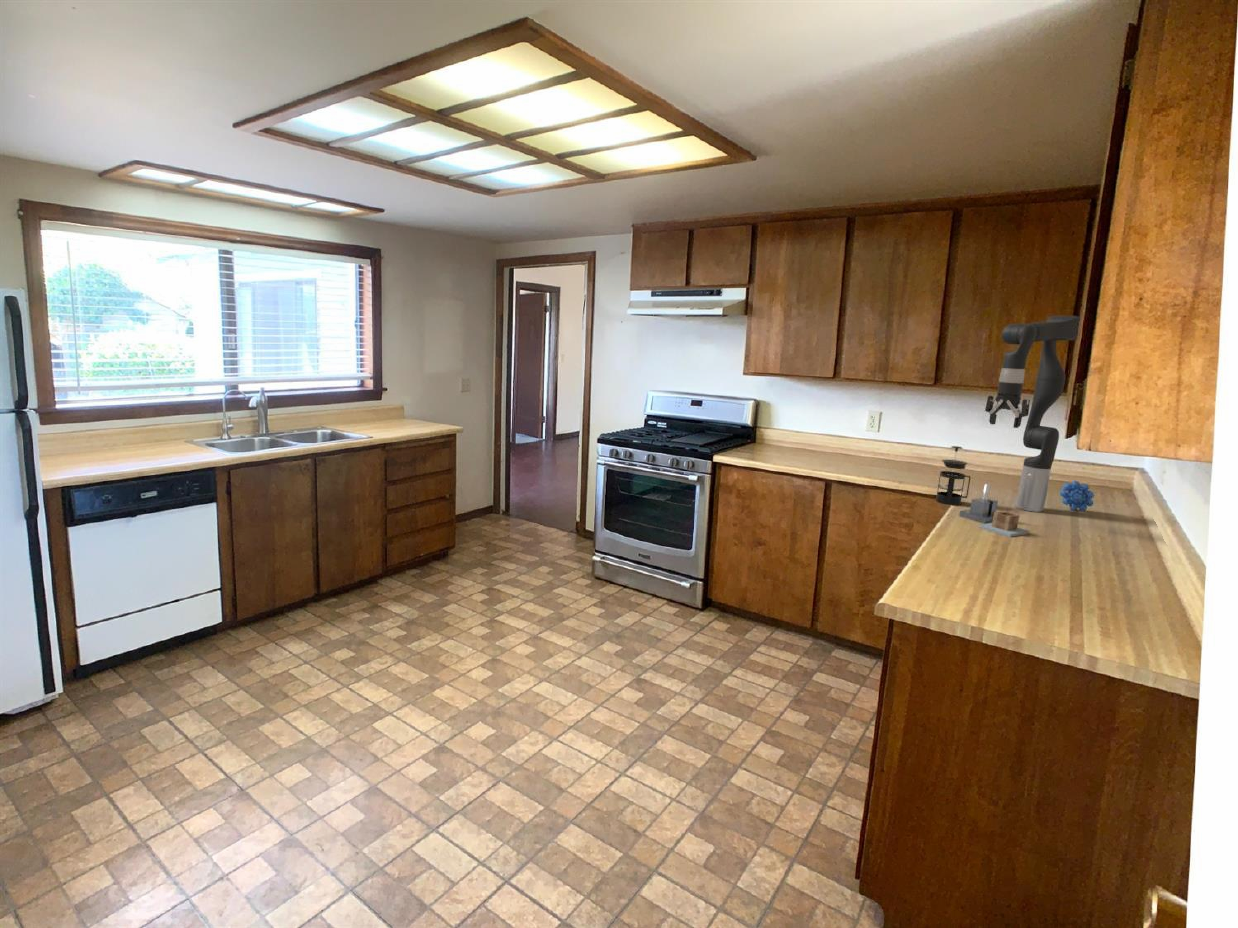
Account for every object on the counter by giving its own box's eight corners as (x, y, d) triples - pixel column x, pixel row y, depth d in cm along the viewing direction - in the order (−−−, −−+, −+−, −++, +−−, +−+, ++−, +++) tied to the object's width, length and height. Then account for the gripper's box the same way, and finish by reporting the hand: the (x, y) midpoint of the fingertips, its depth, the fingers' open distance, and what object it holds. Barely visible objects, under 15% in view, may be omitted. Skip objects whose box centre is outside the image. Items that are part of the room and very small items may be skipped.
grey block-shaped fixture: (978, 513, 244) (984, 480, 241) (1004, 520, 235) (1010, 486, 232) (959, 516, 238) (964, 482, 235) (984, 523, 229) (990, 488, 227)
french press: (933, 502, 257) (942, 446, 252) (933, 497, 265) (941, 443, 260) (966, 507, 252) (975, 450, 247) (965, 502, 260) (974, 446, 255)
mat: (997, 524, 229) (998, 521, 229) (1028, 533, 219) (1029, 530, 219) (978, 527, 224) (979, 524, 224) (1009, 536, 214) (1010, 534, 214)
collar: (1001, 524, 225) (1003, 511, 224) (1016, 529, 220) (1019, 515, 219) (991, 526, 222) (994, 512, 221) (1007, 530, 218) (1009, 516, 217)
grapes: (1057, 510, 255) (1063, 480, 253) (1055, 506, 261) (1061, 477, 259) (1093, 515, 250) (1099, 485, 247) (1090, 511, 256) (1096, 482, 253)
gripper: (1037, 382, 224) (1030, 428, 228) (997, 379, 237) (991, 422, 240) (1025, 383, 221) (1017, 429, 224) (985, 379, 233) (978, 423, 236)
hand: (1004, 425), depth 232 cm, fingers open, 8 cm apart
